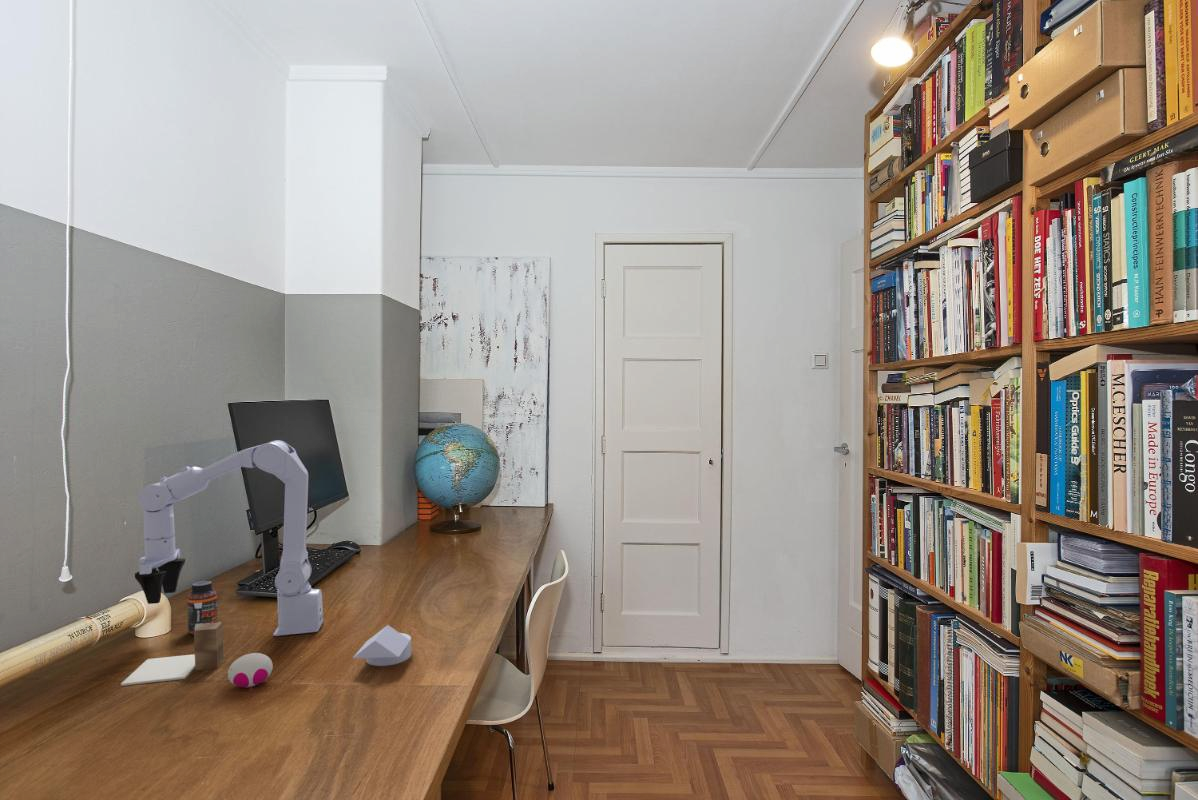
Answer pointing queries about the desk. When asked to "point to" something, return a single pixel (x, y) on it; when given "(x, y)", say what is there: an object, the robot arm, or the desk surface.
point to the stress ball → (250, 670)
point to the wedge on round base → (386, 648)
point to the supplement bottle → (201, 605)
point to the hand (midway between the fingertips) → (162, 597)
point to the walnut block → (208, 645)
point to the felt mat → (162, 670)
